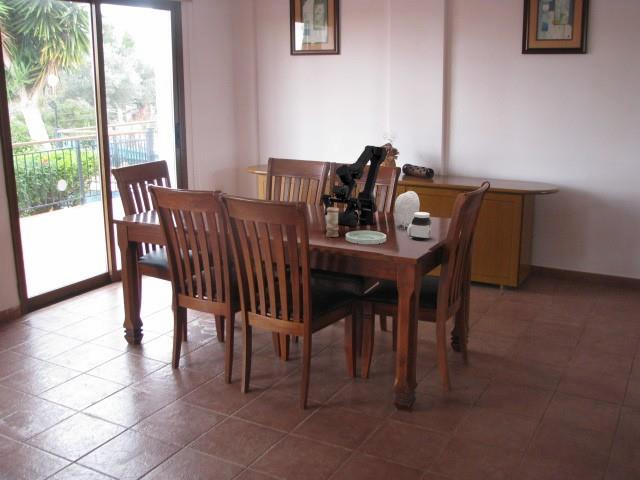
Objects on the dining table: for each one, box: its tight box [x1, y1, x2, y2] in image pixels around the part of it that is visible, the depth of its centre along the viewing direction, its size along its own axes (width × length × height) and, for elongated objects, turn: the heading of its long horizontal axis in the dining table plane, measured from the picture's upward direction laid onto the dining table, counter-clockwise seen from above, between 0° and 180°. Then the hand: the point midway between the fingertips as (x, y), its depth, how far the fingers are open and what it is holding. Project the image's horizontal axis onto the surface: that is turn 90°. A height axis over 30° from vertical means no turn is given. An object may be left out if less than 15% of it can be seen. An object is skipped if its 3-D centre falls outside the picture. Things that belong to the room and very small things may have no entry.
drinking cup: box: [338, 210, 367, 227], centre depth 345 cm, size 8×8×20 cm
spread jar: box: [406, 211, 432, 241], centre depth 322 cm, size 12×11×12 cm
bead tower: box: [325, 206, 340, 238], centre depth 321 cm, size 6×6×13 cm
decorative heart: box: [394, 190, 421, 230], centre depth 342 cm, size 18×11×17 cm, turn 153°
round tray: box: [345, 230, 387, 245], centre depth 317 cm, size 18×18×2 cm
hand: (334, 216), depth 321 cm, fingers open, 9 cm apart
